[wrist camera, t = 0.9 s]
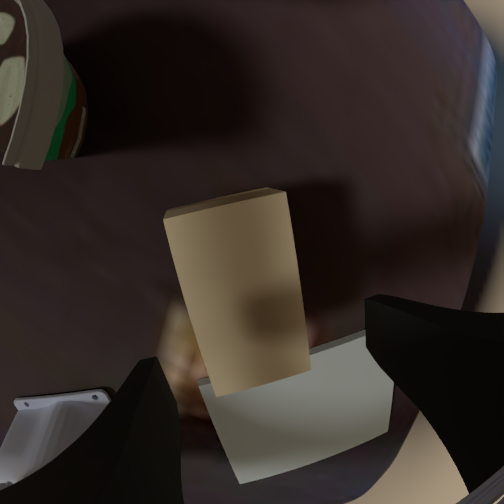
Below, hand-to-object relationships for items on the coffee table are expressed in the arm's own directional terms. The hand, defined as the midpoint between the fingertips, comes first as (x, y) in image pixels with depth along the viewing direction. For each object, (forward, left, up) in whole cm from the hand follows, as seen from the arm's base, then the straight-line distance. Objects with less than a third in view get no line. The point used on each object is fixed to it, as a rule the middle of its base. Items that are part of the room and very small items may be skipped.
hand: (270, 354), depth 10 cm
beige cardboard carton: (0, 0, -10) cm, 10 cm away
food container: (-9, +14, -11) cm, 20 cm away
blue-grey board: (+4, -15, -10) cm, 19 cm away
